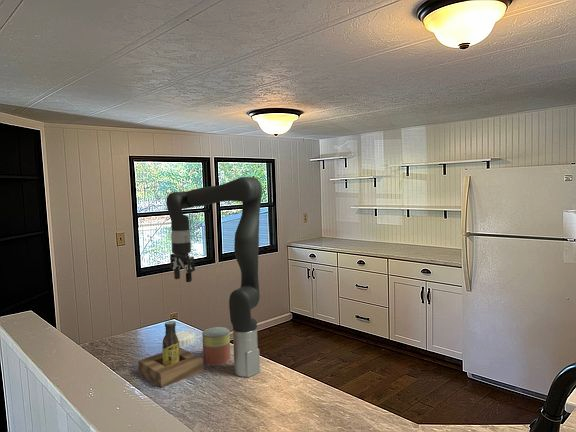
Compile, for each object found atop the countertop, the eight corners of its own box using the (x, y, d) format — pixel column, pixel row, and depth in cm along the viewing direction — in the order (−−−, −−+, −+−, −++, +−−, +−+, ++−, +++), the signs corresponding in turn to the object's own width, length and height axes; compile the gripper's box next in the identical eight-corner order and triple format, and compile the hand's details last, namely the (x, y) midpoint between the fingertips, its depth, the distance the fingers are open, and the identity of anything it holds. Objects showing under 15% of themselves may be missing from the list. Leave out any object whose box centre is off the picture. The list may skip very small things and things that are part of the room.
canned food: (233, 354, 183) (232, 327, 182) (227, 365, 172) (225, 336, 171) (207, 354, 184) (206, 326, 183) (199, 365, 173) (198, 336, 172)
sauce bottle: (170, 377, 163) (167, 326, 161) (159, 373, 167) (157, 323, 165) (183, 371, 168) (181, 321, 166) (173, 367, 172) (171, 319, 170)
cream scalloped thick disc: (200, 340, 201) (200, 332, 201) (181, 349, 191) (181, 341, 191) (182, 335, 208) (182, 328, 207) (163, 344, 197) (162, 336, 197)
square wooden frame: (203, 371, 167) (203, 358, 167) (161, 387, 155) (160, 374, 154) (179, 358, 180) (178, 346, 180) (138, 372, 168) (137, 360, 167)
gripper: (199, 241, 171) (200, 281, 173) (179, 238, 181) (181, 276, 183) (182, 243, 166) (184, 284, 167) (163, 240, 176) (165, 279, 177)
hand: (182, 280), depth 175 cm, fingers open, 8 cm apart
